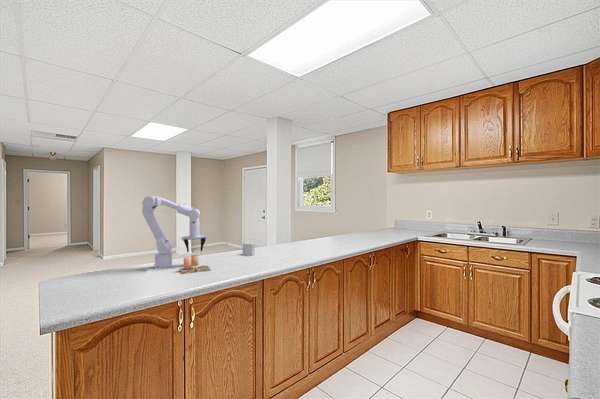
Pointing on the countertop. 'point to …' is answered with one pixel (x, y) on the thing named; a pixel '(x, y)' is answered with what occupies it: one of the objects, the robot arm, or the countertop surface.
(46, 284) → the countertop surface
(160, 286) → the countertop surface
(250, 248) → the medicine box
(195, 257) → the terracotta peg
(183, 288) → the countertop surface
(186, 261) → the peg
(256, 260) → the countertop surface
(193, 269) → the board
